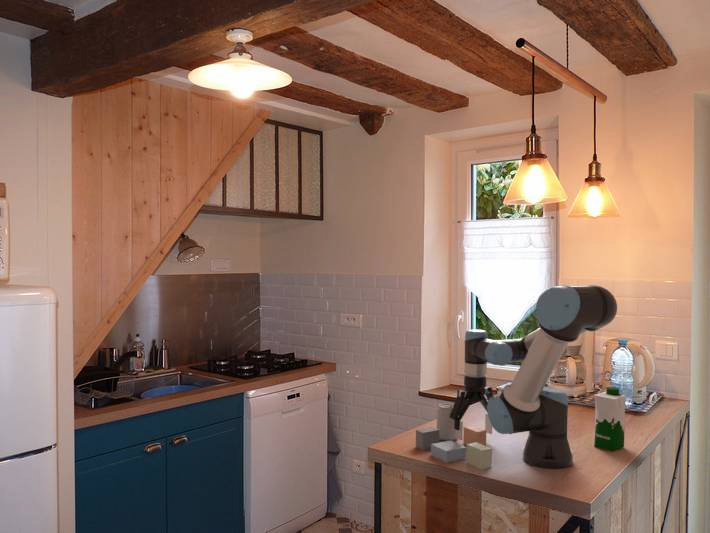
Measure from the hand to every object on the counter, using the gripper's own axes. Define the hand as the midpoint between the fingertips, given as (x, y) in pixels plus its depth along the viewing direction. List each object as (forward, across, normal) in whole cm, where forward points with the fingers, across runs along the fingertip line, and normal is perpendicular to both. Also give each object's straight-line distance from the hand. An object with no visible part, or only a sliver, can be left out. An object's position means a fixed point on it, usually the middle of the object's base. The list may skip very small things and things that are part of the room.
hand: (473, 436), depth 208 cm
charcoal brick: (+3, +15, -6) cm, 17 cm away
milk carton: (+3, -39, +25) cm, 46 cm away
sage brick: (+3, +12, +16) cm, 20 cm away
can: (+4, +3, -10) cm, 11 cm away
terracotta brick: (+3, 0, +1) cm, 3 cm away
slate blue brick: (+3, +16, +5) cm, 17 cm away
